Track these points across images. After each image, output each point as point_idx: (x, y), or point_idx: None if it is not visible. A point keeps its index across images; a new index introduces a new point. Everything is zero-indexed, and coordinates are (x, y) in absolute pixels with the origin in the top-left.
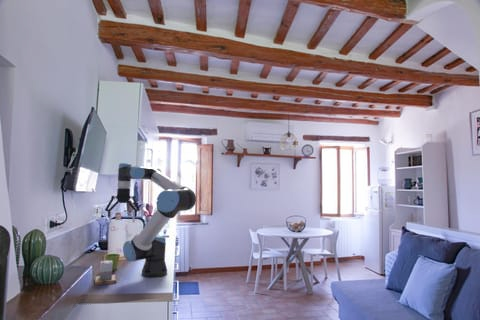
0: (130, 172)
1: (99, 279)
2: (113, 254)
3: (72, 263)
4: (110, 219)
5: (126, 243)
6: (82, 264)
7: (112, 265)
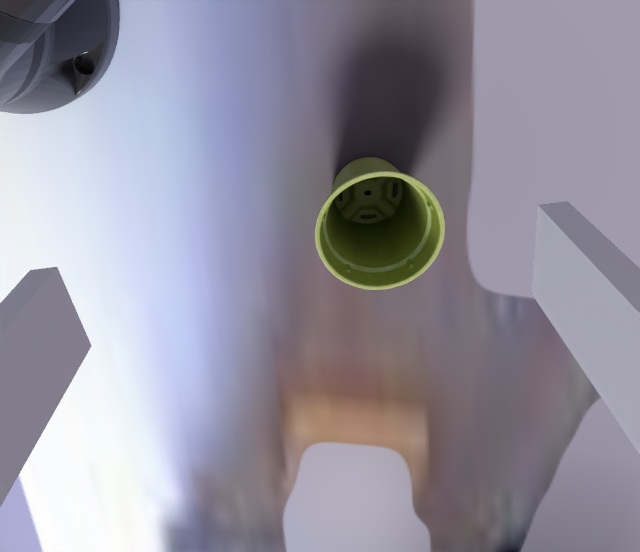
0: None
1: None
2: (373, 283)
3: None
4: (586, 238)
5: None
6: None
7: (365, 164)
